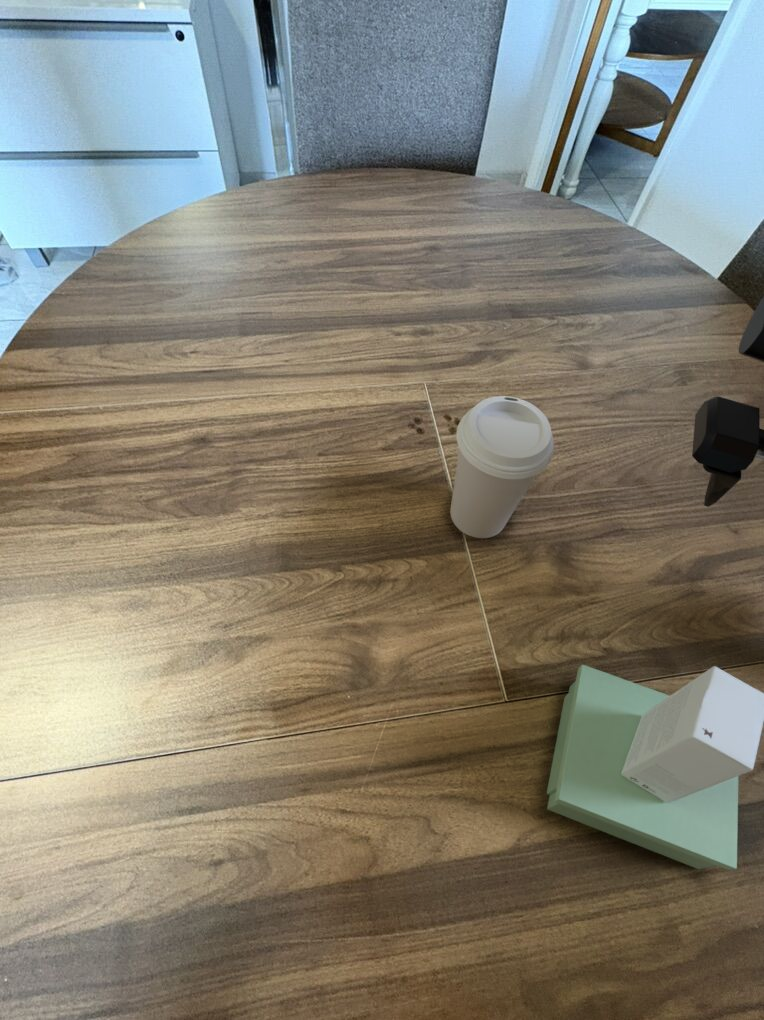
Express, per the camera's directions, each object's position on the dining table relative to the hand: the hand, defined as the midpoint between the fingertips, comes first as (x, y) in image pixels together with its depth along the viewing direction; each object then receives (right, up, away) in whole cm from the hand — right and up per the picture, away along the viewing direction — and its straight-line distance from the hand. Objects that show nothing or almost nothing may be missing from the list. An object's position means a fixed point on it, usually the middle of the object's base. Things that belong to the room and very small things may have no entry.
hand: (756, 518), depth 56 cm
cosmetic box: (-12, -20, -5) cm, 24 cm away
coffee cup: (-23, 0, +14) cm, 27 cm away
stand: (-12, -23, -1) cm, 26 cm away
